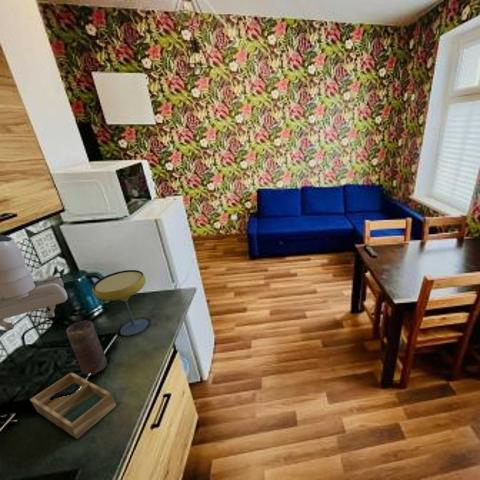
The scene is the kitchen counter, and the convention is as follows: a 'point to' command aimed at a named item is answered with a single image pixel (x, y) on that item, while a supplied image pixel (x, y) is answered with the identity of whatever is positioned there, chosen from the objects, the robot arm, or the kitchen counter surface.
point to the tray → (74, 405)
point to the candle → (86, 347)
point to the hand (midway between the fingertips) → (31, 322)
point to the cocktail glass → (122, 294)
